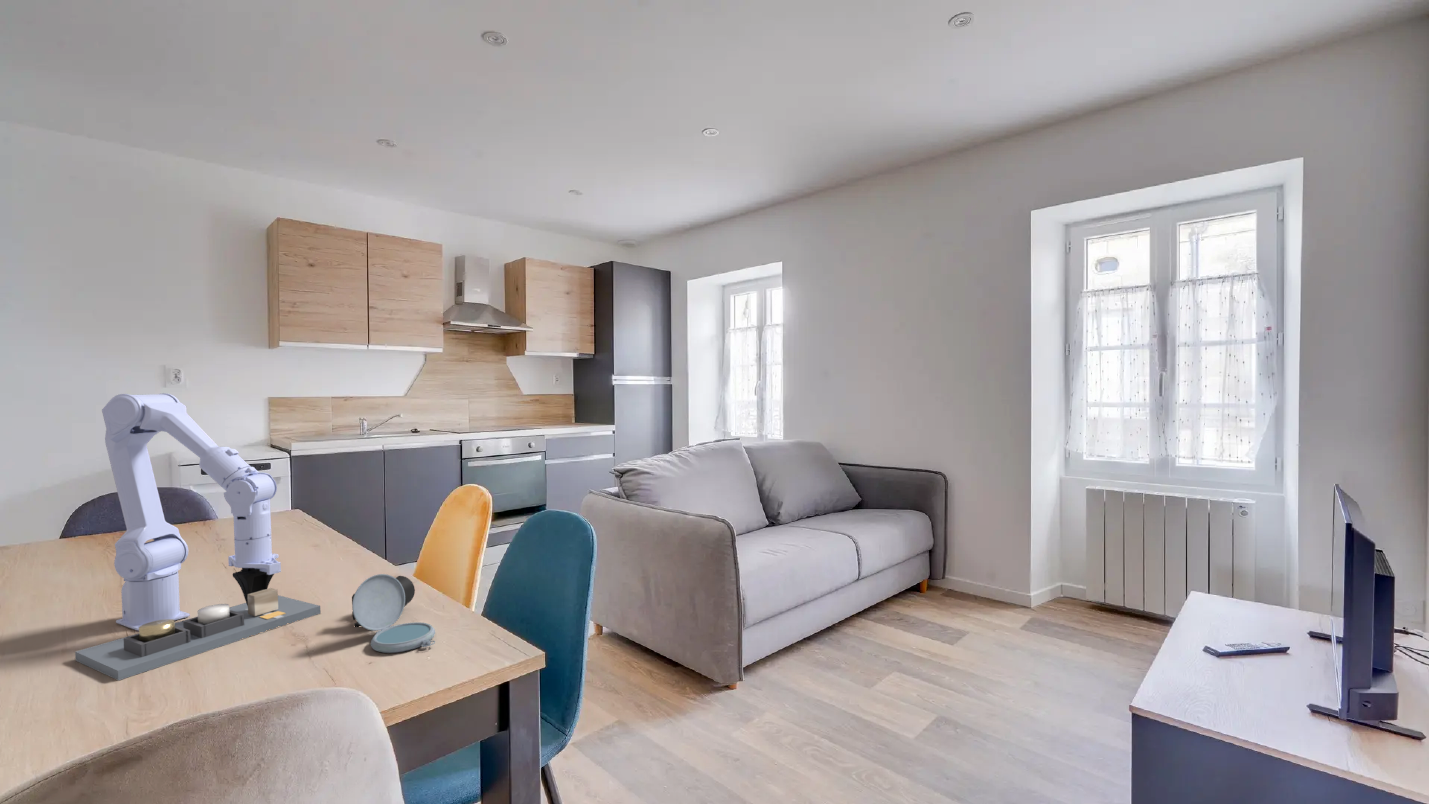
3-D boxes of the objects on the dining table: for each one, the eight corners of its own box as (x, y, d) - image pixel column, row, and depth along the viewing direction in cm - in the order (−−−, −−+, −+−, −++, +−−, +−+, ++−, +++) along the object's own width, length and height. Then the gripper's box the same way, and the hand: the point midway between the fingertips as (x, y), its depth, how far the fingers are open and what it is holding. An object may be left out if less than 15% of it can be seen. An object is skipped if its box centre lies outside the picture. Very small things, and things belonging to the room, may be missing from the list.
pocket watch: (399, 567, 112) (454, 577, 106) (401, 624, 113) (456, 639, 106) (345, 583, 104) (402, 595, 97) (347, 645, 104) (404, 662, 97)
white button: (193, 621, 107) (192, 610, 107) (222, 613, 111) (221, 602, 111) (205, 625, 105) (205, 614, 105) (234, 616, 109) (234, 605, 109)
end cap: (389, 628, 111) (388, 591, 111) (351, 628, 111) (350, 592, 111) (415, 608, 121) (414, 575, 121) (380, 608, 121) (379, 575, 121)
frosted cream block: (248, 614, 114) (247, 594, 114) (271, 607, 118) (270, 587, 118) (255, 616, 113) (254, 596, 113) (278, 608, 117) (277, 589, 117)
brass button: (134, 638, 100) (133, 626, 100) (167, 628, 104) (167, 617, 104) (146, 643, 98) (146, 631, 98) (180, 633, 102) (179, 621, 102)
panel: (75, 660, 99) (74, 639, 99) (275, 601, 126) (274, 584, 126) (118, 680, 92) (117, 657, 92) (320, 613, 119) (319, 595, 119)
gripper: (296, 535, 117) (299, 604, 117) (255, 528, 123) (258, 594, 123) (255, 544, 110) (258, 617, 111) (214, 536, 117) (217, 605, 117)
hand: (255, 606), depth 117 cm, fingers closed
